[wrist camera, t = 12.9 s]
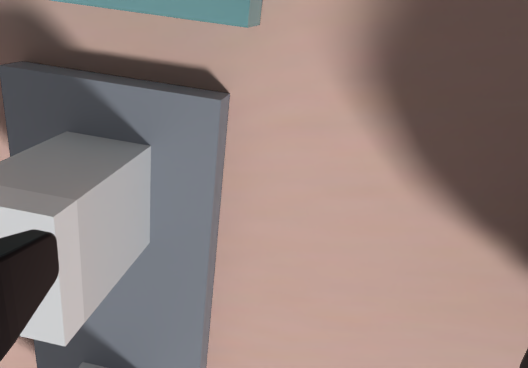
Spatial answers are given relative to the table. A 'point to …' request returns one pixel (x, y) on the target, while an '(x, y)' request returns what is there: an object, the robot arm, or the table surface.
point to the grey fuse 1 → (79, 220)
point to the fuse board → (161, 207)
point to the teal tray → (189, 9)
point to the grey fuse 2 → (89, 365)
